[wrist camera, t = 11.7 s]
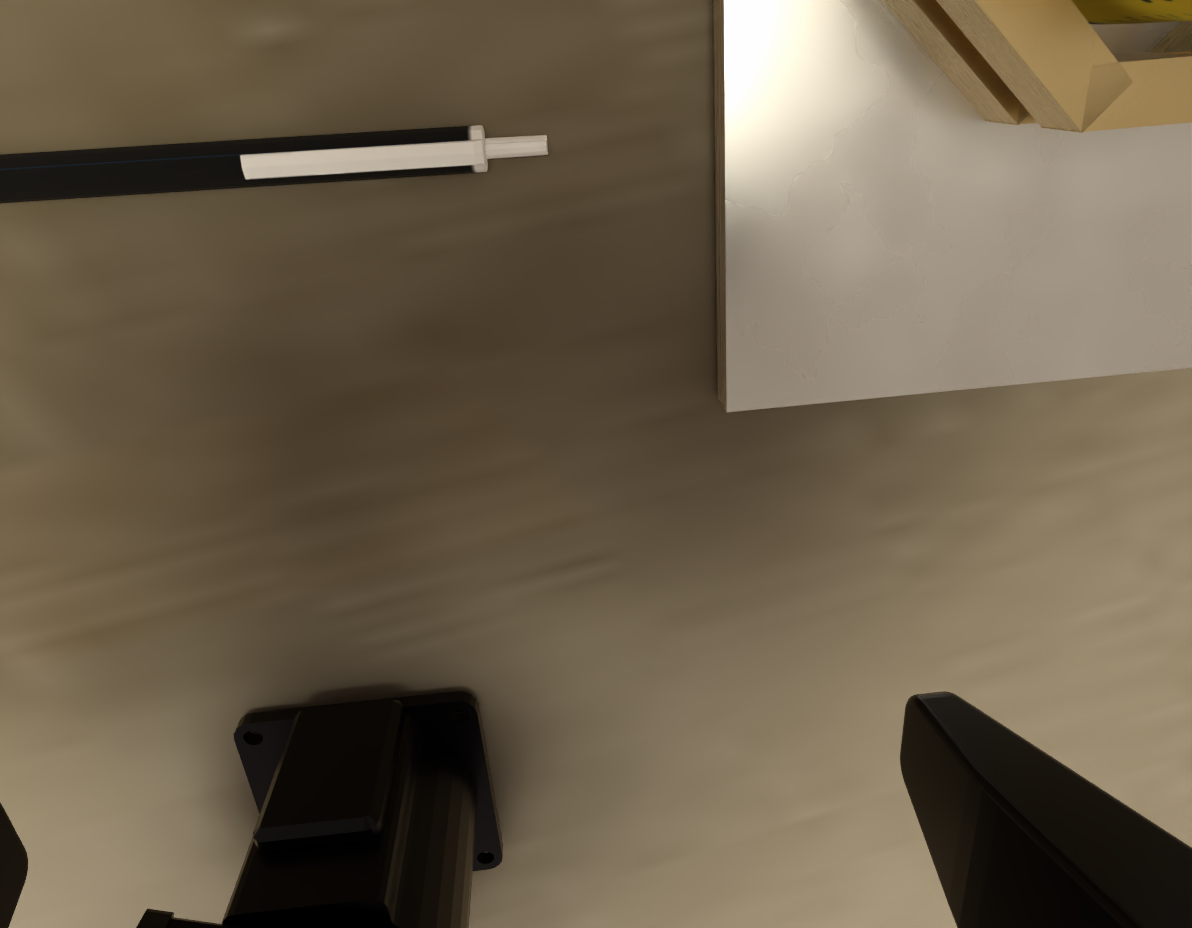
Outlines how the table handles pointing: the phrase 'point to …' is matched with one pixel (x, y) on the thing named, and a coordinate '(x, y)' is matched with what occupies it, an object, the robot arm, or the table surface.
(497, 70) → the table surface
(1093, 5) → the supplement bottle
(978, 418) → the table surface
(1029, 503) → the table surface
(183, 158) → the pen
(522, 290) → the table surface
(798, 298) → the plate
